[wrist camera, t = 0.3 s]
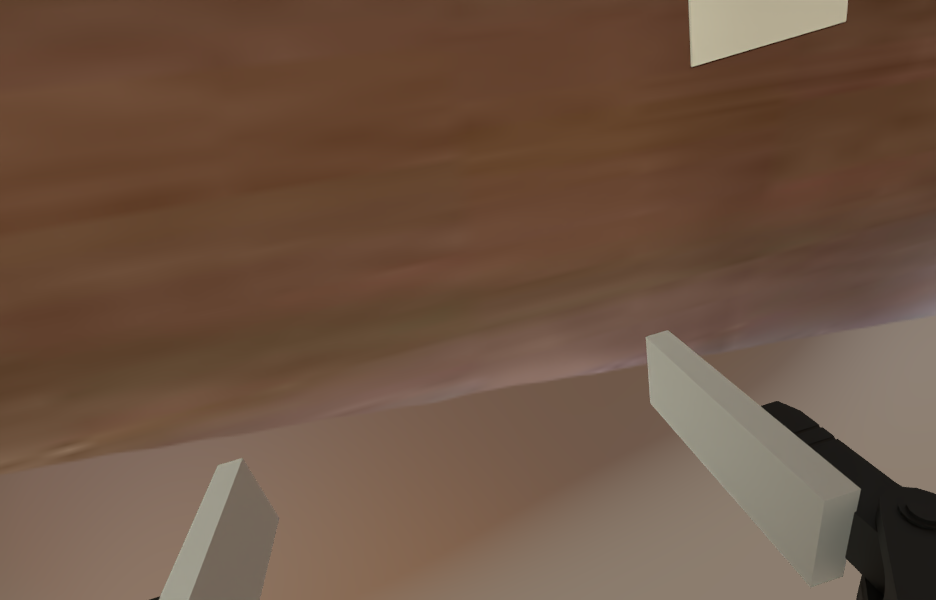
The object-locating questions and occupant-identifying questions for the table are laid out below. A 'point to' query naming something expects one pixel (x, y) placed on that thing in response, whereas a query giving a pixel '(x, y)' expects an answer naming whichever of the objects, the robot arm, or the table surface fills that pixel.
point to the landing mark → (754, 24)
